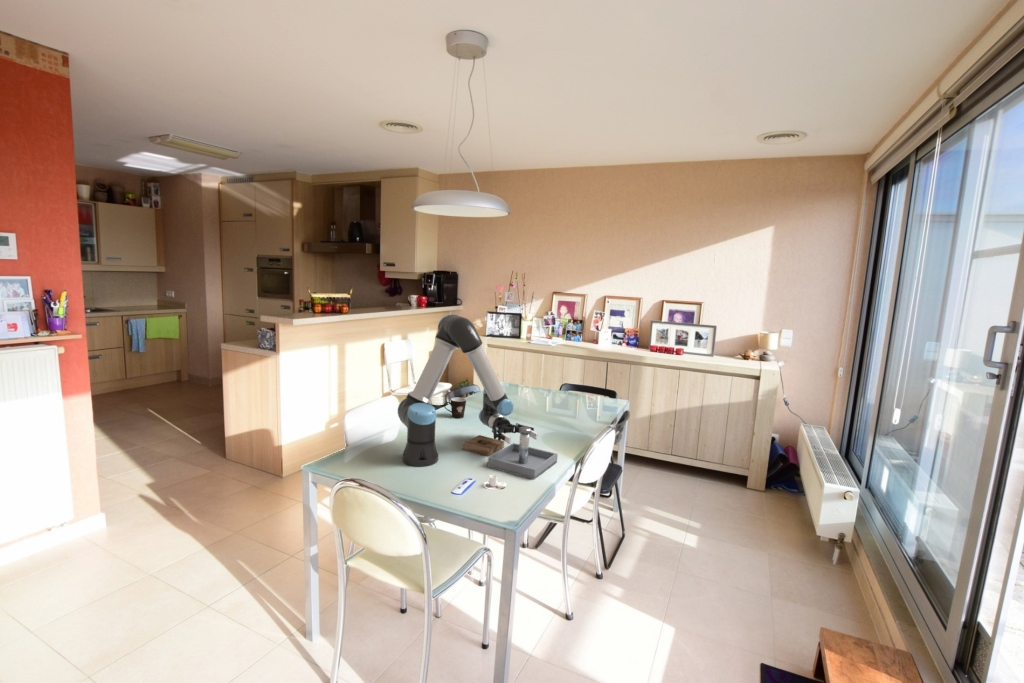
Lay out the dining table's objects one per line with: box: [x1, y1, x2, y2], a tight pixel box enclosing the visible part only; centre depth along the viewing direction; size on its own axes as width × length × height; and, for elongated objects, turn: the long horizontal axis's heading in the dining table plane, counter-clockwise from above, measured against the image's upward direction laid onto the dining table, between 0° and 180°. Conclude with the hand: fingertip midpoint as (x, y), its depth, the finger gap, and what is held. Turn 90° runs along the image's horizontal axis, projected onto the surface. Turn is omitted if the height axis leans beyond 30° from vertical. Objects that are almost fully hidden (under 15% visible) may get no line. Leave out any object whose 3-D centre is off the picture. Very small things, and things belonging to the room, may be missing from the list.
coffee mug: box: [443, 396, 467, 420], centre depth 278 cm, size 12×9×10 cm
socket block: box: [461, 434, 505, 457], centre depth 232 cm, size 14×14×3 cm
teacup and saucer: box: [482, 474, 507, 491], centre depth 193 cm, size 9×8×4 cm
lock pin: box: [519, 426, 531, 464], centre depth 214 cm, size 5×5×15 cm
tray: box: [487, 442, 558, 480], centre depth 215 cm, size 22×22×4 cm
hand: (523, 438), depth 215 cm, fingers open, 13 cm apart
